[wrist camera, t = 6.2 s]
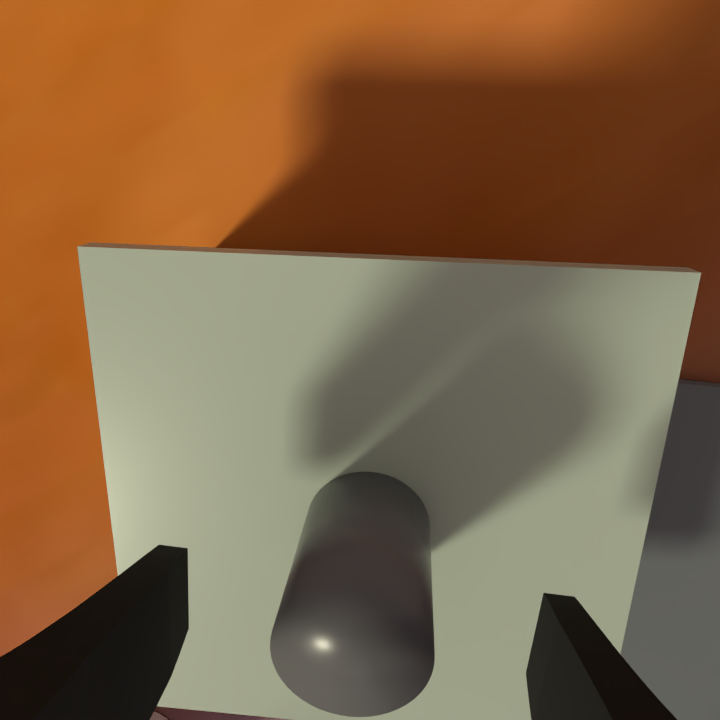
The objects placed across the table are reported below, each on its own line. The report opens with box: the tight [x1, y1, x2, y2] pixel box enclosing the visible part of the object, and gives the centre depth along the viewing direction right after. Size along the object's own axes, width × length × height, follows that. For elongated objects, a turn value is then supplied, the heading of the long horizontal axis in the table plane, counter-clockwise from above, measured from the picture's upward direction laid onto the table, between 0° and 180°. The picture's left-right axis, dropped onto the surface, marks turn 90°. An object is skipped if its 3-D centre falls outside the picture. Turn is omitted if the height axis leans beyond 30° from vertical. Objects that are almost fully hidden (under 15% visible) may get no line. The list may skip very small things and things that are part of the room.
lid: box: [77, 243, 701, 720], centre depth 13 cm, size 13×13×5 cm
